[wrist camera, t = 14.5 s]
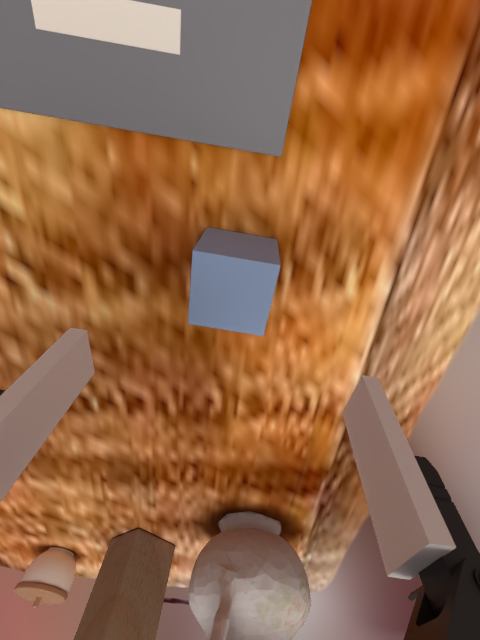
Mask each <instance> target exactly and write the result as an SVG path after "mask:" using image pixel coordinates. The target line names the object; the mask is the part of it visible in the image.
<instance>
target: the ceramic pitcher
mask: <svg viewBox="0 0 480 640" xmlns="http://www.w3.org/2000/svg"><path fill="white" fill-rule="evenodd" d="M217 524H218V525H219V528H220V530H221V533H219V534H217V535H215V536H214V537H213V538H212V539H211V540H210V541H209V542H208V543H207V544H206V546H205V547H204V548H203V550H202V551H201V552H200V554H199V556H198V558H197V560H196V562H195V565H194V568H193V571H192V575H191V580H190V586H189V604H190V607H191V610H192V612H193V614H194V616H195V617H196V619H197V620H198V622H199V623H200V625H201V627H202V628H203V630H204V633H205V635H206V637H207V640H292V639H293V637H294V636H295V635H296V633H297V632H298V631H299V629H300V628H301V627H302V625H303V624H304V623H305V621H306V619H307V617H308V614H309V611H310V606H311V598H310V590H309V583H308V579H307V575H306V572H305V569H304V567H303V564H302V562H301V560H300V558H299V556H298V555H297V553H296V551H295V550H294V549H293V548H292V547H291V545H290V544H289V543H288V542H287V541H286V540H284V539H283V538H282V537H280V536H279V534H280V532H281V524H280V521H277V520H275V519H272V518H270V517H267V516H264V515H262V514H258V513H254V512H251V511H247V512H239V513H229V514H226V515H225V516H224V517H223V518H222V519H221V520H220V521H219V522H218V523H217Z"/></svg>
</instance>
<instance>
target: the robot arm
mask: <svg viewBox="0 0 480 640" xmlns="http://www.w3.org/2000/svg"><path fill="white" fill-rule="evenodd" d="M94 373H95V372H94V366H93V361H92V355H91V350H90V345H89V339H88V334H87V330H84V329H78V328H72V327H70V328H69V329H68V330H67V331H66V332H65V333H64V334H63V335H62V336H61V337H60V338H59V339H58V340H57V341H56V342H55V343H54V344H53V345H52V346H51V347H50V348H49V349H48V350H47V351H46V352H45V353H44V354H43V355H42V356H41V357H40V358H38V359H37V360H36V361H35V362H34V363H33V364H32V365H31V366H30V367H29V368H28V369H27V370H26V371H25V372H24V373H23V374H22V375H21V376H20V377H19V378H18V379H17V380H16V381H15V382H14V383H13V384H12V385H11V386H10V387H9V388H8V389H7V390H6V391H5V390H0V502H1V501H2V500H3V498H4V497H5V495H6V494H7V493H8V491H9V490H10V489H11V487H12V486H13V484H14V483H15V482H16V480H17V479H18V478H19V476H20V475H21V473H22V472H23V471H24V469H25V468H26V467H27V465H28V464H29V462H30V461H31V460H32V458H33V457H34V456H35V454H36V453H37V451H38V450H39V449H40V447H41V446H42V445H43V443H44V442H45V440H46V439H47V438H48V436H49V435H50V434H51V432H52V431H53V429H54V428H55V427H56V425H57V424H58V423H59V421H60V420H61V418H62V417H63V416H64V414H65V413H66V412H67V410H68V409H69V407H70V406H71V405H72V403H73V402H74V401H75V399H76V398H77V396H78V395H79V394H80V392H81V391H82V390H83V388H84V387H85V385H86V384H87V383H88V381H89V380H90V379H91V377H92V376H93V374H94ZM343 417H344V421H345V424H346V428H347V432H348V435H349V439H350V443H351V446H352V450H353V453H354V457H355V461H356V464H357V468H358V472H359V475H360V479H361V483H362V486H363V490H364V494H365V497H366V501H367V505H368V508H369V512H370V515H371V519H372V523H373V526H374V530H375V534H376V537H377V541H378V545H379V548H380V552H381V555H382V559H383V563H384V566H385V570H386V574H387V576H388V577H395V578H402V579H408V580H410V579H412V578H413V577H415V576H416V575H417V574H419V575H420V578H421V581H422V584H423V585H422V586H421V587H419V588H418V589H416V590H415V591H413V592H412V593H411V594H410V595H409V597H408V598H409V599H410V600H411V601H412V600H414V599H415V598H417V599H416V602H415V605H414V609H413V612H412V615H411V618H410V621H409V624H408V628H407V631H406V634H405V637H404V640H480V553H479V552H478V550H477V548H476V547H475V544H474V542H473V541H472V539H471V537H470V535H469V533H468V531H467V529H466V527H465V525H464V523H463V521H462V519H461V517H460V515H459V513H458V511H457V509H456V507H455V505H454V503H453V502H451V497H450V495H449V493H448V492H447V490H446V489H445V486H444V484H443V482H442V480H441V478H440V476H439V474H438V472H437V470H436V469H435V468H434V467H433V466H432V465H431V463H430V462H429V461H428V460H427V459H426V458H425V457H419V456H414V455H413V452H412V450H411V448H410V446H409V444H408V442H407V439H406V437H405V435H404V433H403V431H402V429H401V426H400V424H399V422H398V420H397V418H396V416H395V413H394V411H393V409H392V407H391V405H390V403H389V400H388V398H387V396H386V394H385V392H384V390H383V387H382V385H381V383H380V381H379V379H378V378H375V377H369V376H363V375H362V377H361V379H360V381H359V383H358V384H357V386H356V388H355V390H354V392H353V394H352V396H351V398H350V400H349V401H348V403H347V405H346V407H345V409H344V411H343Z"/></svg>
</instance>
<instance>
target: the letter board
mask: <svg viewBox="0 0 480 640" xmlns="http://www.w3.org/2000/svg"><path fill="white" fill-rule="evenodd" d="M311 3H312V0H0V108H4V109H10V110H16V111H21V112H27V113H33V114H39V115H44V116H50V117H56V118H62V119H67V120H73V121H79V122H85V123H90V124H96V125H102V126H108V127H113V128H119V129H125V130H131V131H136V132H142V133H148V134H153V135H159V136H165V137H171V138H176V139H182V140H188V141H194V142H199V143H205V144H211V145H217V146H222V147H228V148H234V149H240V150H245V151H251V152H257V153H263V154H268V155H274V156H280V157H281V156H282V150H283V145H284V140H285V135H286V130H287V125H288V120H289V115H290V110H291V105H292V100H293V94H294V89H295V84H296V79H297V74H298V69H299V64H300V59H301V54H302V49H303V44H304V39H305V33H306V28H307V23H308V18H309V13H310V8H311Z"/></svg>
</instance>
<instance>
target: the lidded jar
mask: <svg viewBox="0 0 480 640" xmlns="http://www.w3.org/2000/svg"><path fill="white" fill-rule="evenodd" d="M75 570H76V563H75V559H74V553H73V552H71V551H69V550H67V549H64V548H60V547H50V548H48V550H47V551H45V552H43V553H41V554H40V555H39V556H37V557H36V558H35V559H34V560H33V561H32V563H31V564H30V565H29V566H28V568H27V569H26V571H25V572H24V574H23V576H22V577H21V579H20V581H19V583H18V584H17V585H16V587H15V589H14V593H16V595H18V596H20V597H22V598H24V599H27V600H30V601H33V602H34V604H33V606H32V607H33V608H37V607H38V605H39V603H43V604H62V603H64V602H65V601H66V599H67V596H68V593H69V590H70V588H71V585H72V583H73V579H74V576H75Z"/></svg>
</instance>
